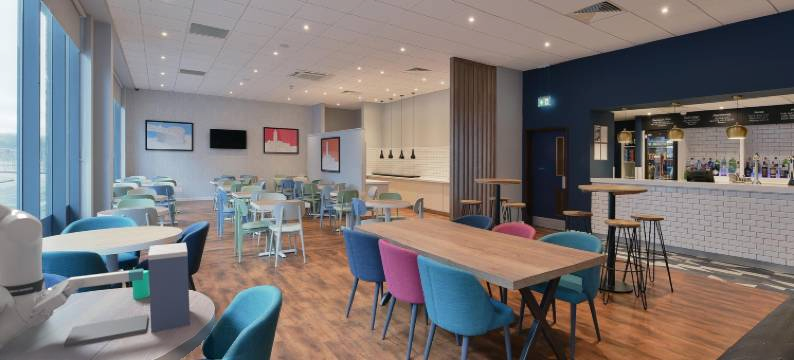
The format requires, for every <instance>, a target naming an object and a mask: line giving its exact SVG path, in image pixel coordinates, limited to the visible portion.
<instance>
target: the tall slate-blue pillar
mask: <svg viewBox="0 0 794 360" xmlns="http://www.w3.org/2000/svg"><path fill="white" fill-rule="evenodd" d="M188 259H189V258H188V247H187V242H179V243H167V244H158V245H150V246H149V250H148V254H147V260H148V261H147V263H148V268H147V269H148V271H149V294H150V296H149V313H150V333H157V332H161V331H167V330H172V329H177V328H182V327H188V326H190V325H191V319H190V318H191V317H190V316H191V315H190V313H191V311H190V292H189V291H190V289H189V287H190V285H189V263H188V261H189V260H188Z"/></svg>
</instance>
